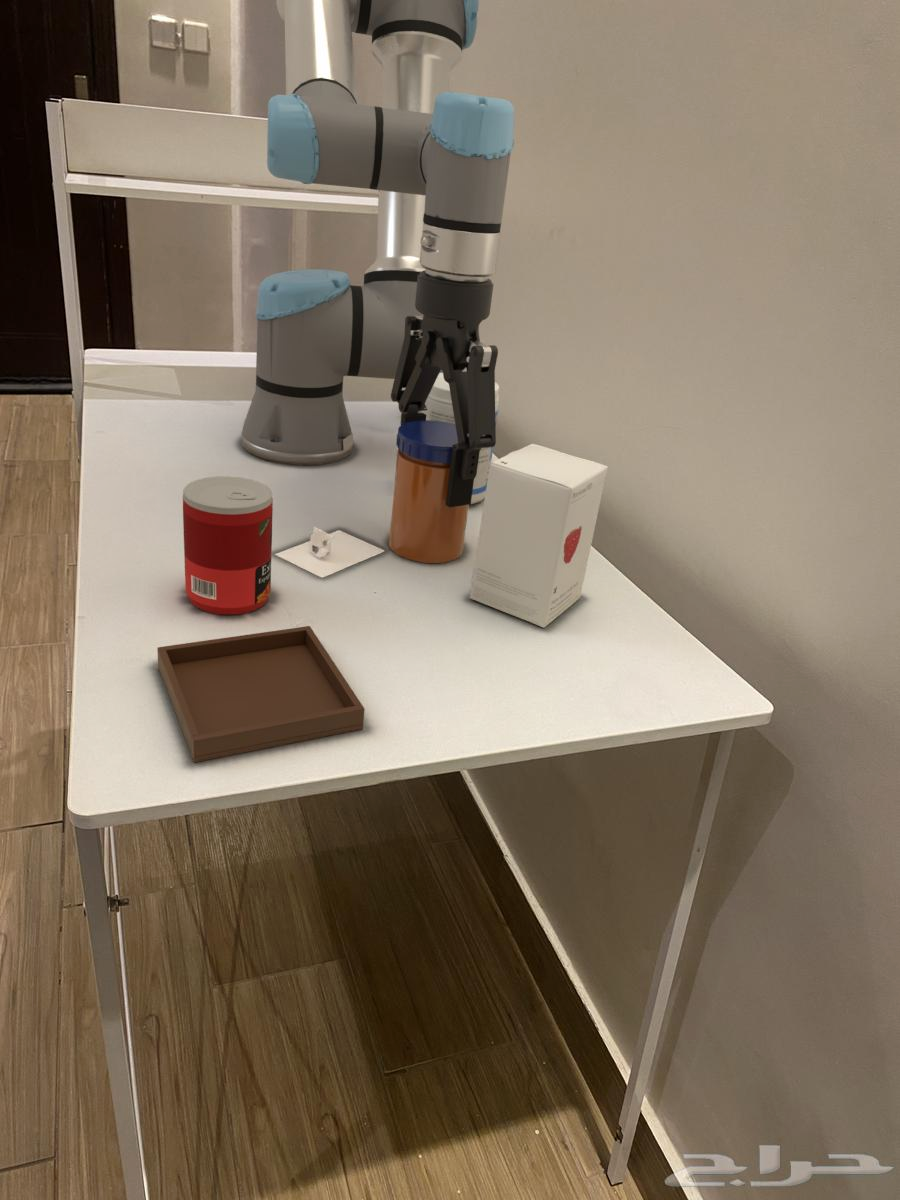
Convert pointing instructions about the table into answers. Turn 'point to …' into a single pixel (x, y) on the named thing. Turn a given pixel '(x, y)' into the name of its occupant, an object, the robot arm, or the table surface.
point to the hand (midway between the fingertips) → (432, 486)
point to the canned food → (227, 544)
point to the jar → (425, 513)
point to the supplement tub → (443, 411)
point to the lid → (427, 440)
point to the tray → (256, 692)
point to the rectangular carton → (536, 532)
